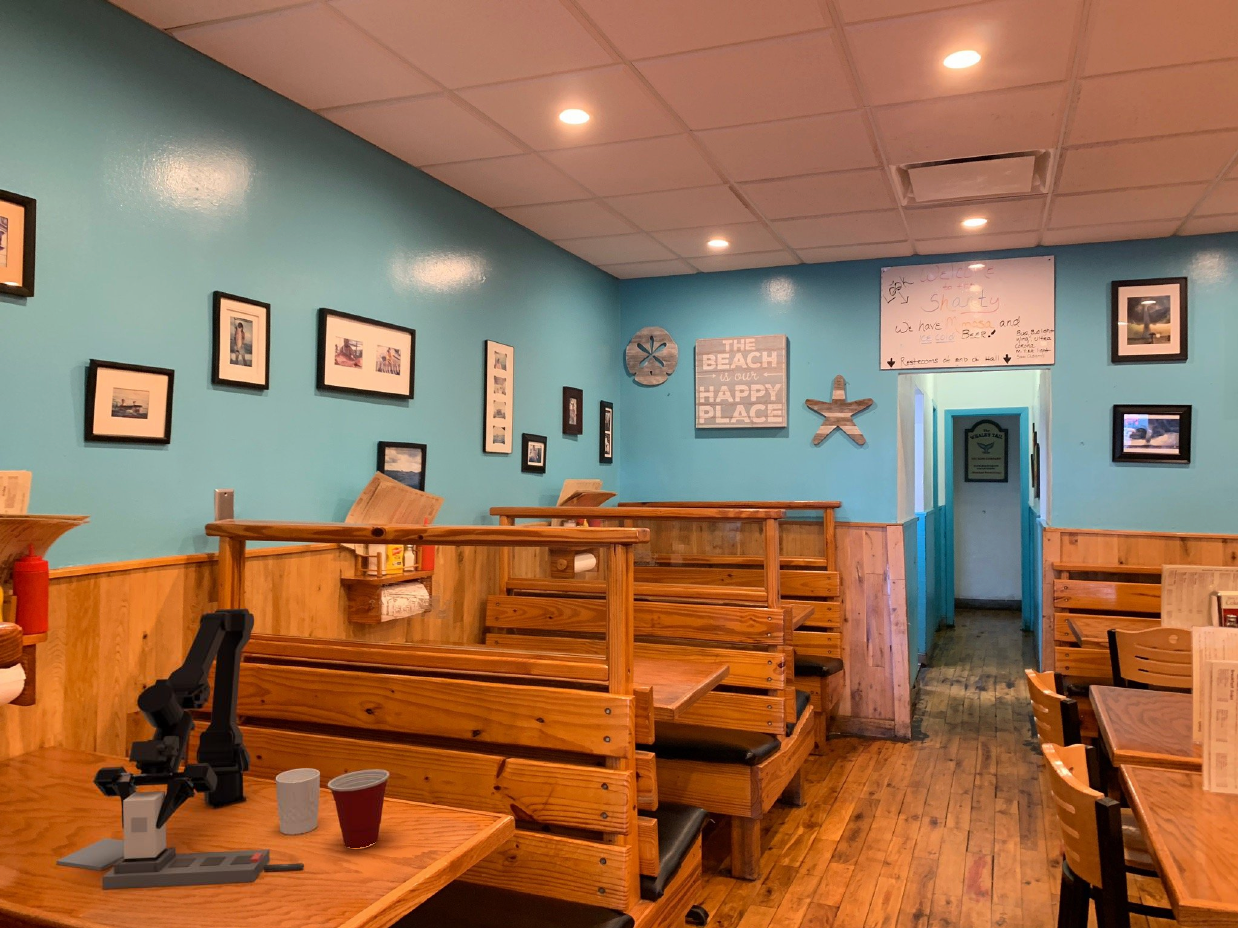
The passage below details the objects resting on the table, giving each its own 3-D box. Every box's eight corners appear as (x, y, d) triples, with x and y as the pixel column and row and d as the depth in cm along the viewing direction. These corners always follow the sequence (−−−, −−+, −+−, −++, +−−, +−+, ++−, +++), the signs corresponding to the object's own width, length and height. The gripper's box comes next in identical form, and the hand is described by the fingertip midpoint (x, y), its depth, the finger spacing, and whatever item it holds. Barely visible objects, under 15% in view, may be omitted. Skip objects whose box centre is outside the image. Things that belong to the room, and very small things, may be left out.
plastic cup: (353, 828, 169) (352, 764, 169) (402, 834, 165) (401, 769, 165) (315, 851, 158) (314, 783, 158) (367, 858, 155) (366, 789, 155)
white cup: (329, 822, 172) (328, 770, 172) (302, 838, 164) (301, 783, 164) (295, 817, 174) (294, 766, 174) (267, 833, 167) (266, 779, 167)
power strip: (102, 889, 145) (102, 867, 145) (126, 867, 153) (126, 847, 153) (297, 879, 147) (296, 858, 147) (310, 858, 155) (310, 838, 155)
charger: (135, 848, 152) (134, 792, 152) (166, 846, 152) (165, 790, 152) (123, 858, 147) (122, 801, 147) (155, 857, 148) (153, 799, 148)
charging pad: (105, 841, 165) (105, 837, 165) (148, 846, 162) (148, 843, 162) (56, 863, 155) (56, 860, 155) (101, 870, 152) (101, 866, 152)
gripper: (97, 720, 153) (62, 809, 142) (209, 716, 154) (183, 804, 143) (121, 752, 161) (90, 838, 150) (227, 748, 162) (204, 833, 151)
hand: (141, 828), depth 148 cm, fingers closed on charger, 5 cm apart
